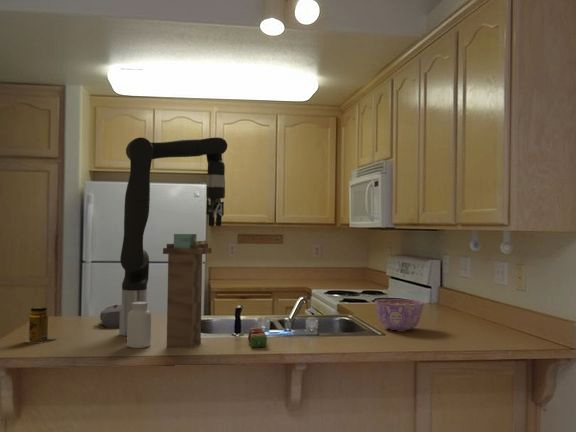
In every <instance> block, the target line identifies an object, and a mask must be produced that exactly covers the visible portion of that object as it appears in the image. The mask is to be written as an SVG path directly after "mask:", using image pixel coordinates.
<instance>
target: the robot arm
mask: <svg viewBox="0 0 576 432" xmlns="http://www.w3.org/2000/svg"><path fill="white" fill-rule="evenodd" d="M227 150H228V143H227V141H226V140H225V139H224V138H223V137H219V136H218V137H216V136H214V137H208V138H207V137H205V138H191V139H189V138H188V139H178V140H170V141H163V142H153V141H152V142H151V141H150V140H149V139H147V138H146V137H136V138H133V139H132V140H131V141H130V142H129V143H128V144H127V145H126V148H125V154H126V156H127V158H128V159H129V161H130V162H129V163H130V167H129V168H130V172H129V178H128V181H127V185H126V189H125V190H126V191H125V195H124V208H123V212H124V213H123V214H124V215H123V219H124V220H123V240H122V246H121V247H122V248H121V252H120V258H119V262H120V265H121V267H122V269H123V270H124V278H123V281H122V282H121V283H122V284H121V305H122V309H120V322H119V330H118V333H119V334H120V335H121V336H123V337H127V322H128V313H129V312H130V311H131V310H133V309H132V303H133V302H147V303H148V301H147V299H148V298H147V297H148V296H147V295H148V291H147V290H148V289H147V288H148V283H149V282H148V281H149V274H150V273H149V272H150V257H149V254H148V252H147V250H145V249H144V234H145V230H146V227H147V222H148V219H149V216H150V204H151V202H150V199H151V197H150V195H151V183H150V182H151V179H150V177H151V167H152V161H153V160H156V159H163V158H164V159H165V158H166V159H167V158H189V157H190V158H194V157H202V156H206V162H207V176H206V195H205V196H206V199H207V198H208V199H207V200H206V211H205V212H206V213H205V214H206V215H207V217H208V226H209V227H215V226H216V227H221V226H222V217H223V216H224V215H225V213H224V212H225V202H224V201H223V200H221V199H225V198H226V178H225V177H226V176H225V175H226V174H225V172H226V170H225V169H226V168H225V167H226V165H225V163H224V162H223V154H225V152H226V151H227Z"/></svg>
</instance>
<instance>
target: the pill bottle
mask: <svg viewBox="0 0 576 432" xmlns="http://www.w3.org/2000/svg"><path fill="white" fill-rule="evenodd" d="M132 309H133V310H131V311H130V312H129V313H128V322H127V336H126V346H127V347H129V348H132V349H144V348H148V347H149V346H151V341H152V335H151V334H152V313H151V310H148V309H149V308H148V301H147V302H133V303H132Z"/></svg>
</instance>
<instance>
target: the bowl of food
mask: <svg viewBox="0 0 576 432" xmlns="http://www.w3.org/2000/svg"><path fill="white" fill-rule="evenodd" d="M374 302H375V308H376V313H377V317H378V320H379V323H380V324H381V325H382V326H384V327H386V328H388V329H391V330H390V331H392V330H397V331H396V332H404V331H403V330H409V331H410V330H412V329H414V328H415V327H417V326H418V324H419V323H420V320H421V316H422V313H423V309H424V305H425V303H424V301H421V300H416V299H408V298H407V299H406V298H405V299H404V298H379V299H376V300H374Z"/></svg>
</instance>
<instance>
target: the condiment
mask: <svg viewBox="0 0 576 432" xmlns="http://www.w3.org/2000/svg"><path fill="white" fill-rule="evenodd" d="M28 319H29V320H28V321H29V331H28V337H29V338H28V340H25V341H24V340H23V342H25V343H30V344H42V343H47V342H49V341H53V340H55V338H53V337H51V338H50V337H48V335H49V333H48V331H49V315H48V307H47V306H35V307H33V306H32V307H31V308H30V315H29V318H28Z"/></svg>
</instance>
